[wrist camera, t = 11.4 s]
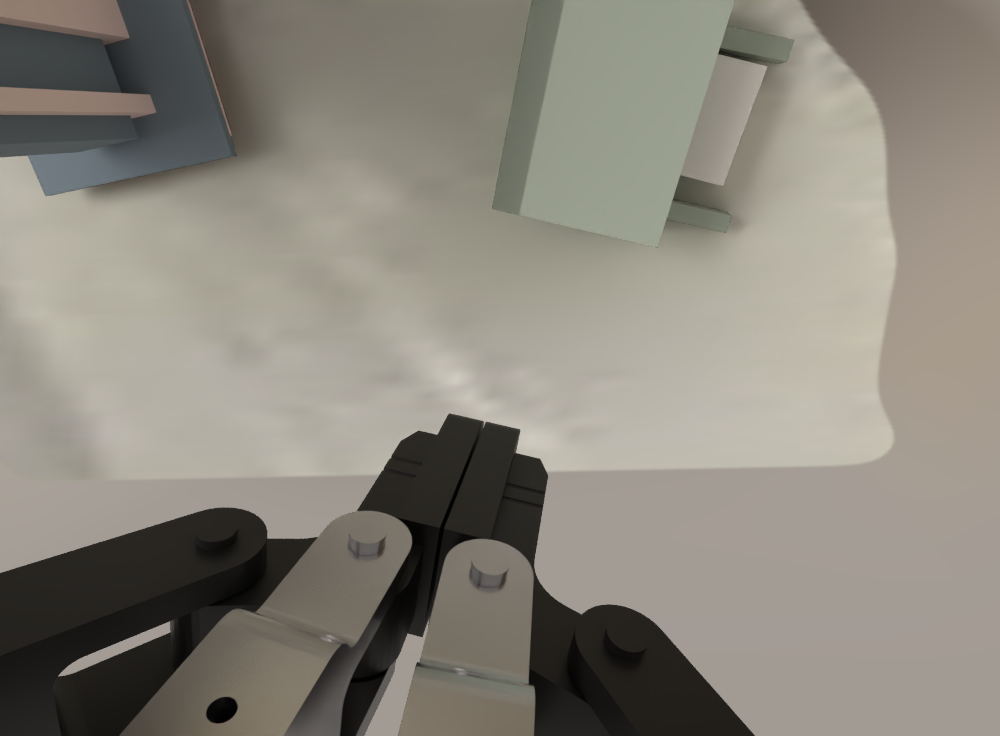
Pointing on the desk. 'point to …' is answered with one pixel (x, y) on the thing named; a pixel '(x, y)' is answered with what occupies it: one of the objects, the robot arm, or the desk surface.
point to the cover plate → (722, 119)
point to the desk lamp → (106, 90)
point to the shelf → (615, 112)
